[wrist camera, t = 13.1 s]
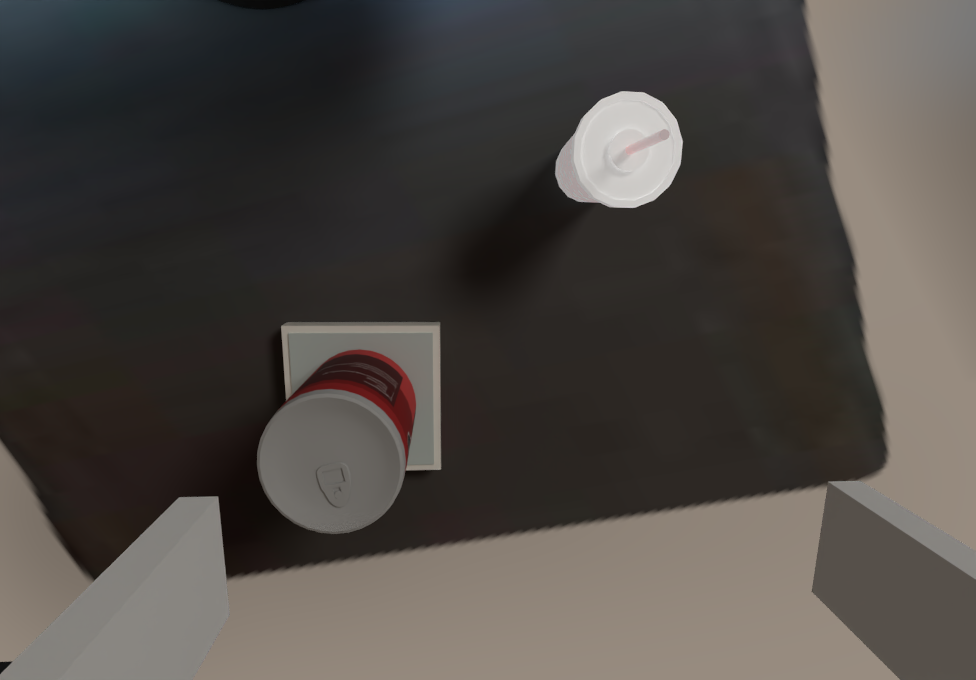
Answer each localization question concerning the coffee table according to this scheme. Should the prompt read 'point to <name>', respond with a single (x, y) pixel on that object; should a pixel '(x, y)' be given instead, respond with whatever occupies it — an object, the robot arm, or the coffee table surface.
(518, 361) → the coffee table surface
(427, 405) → the tray
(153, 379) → the coffee table surface
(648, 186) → the beverage cup
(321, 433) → the canned food
